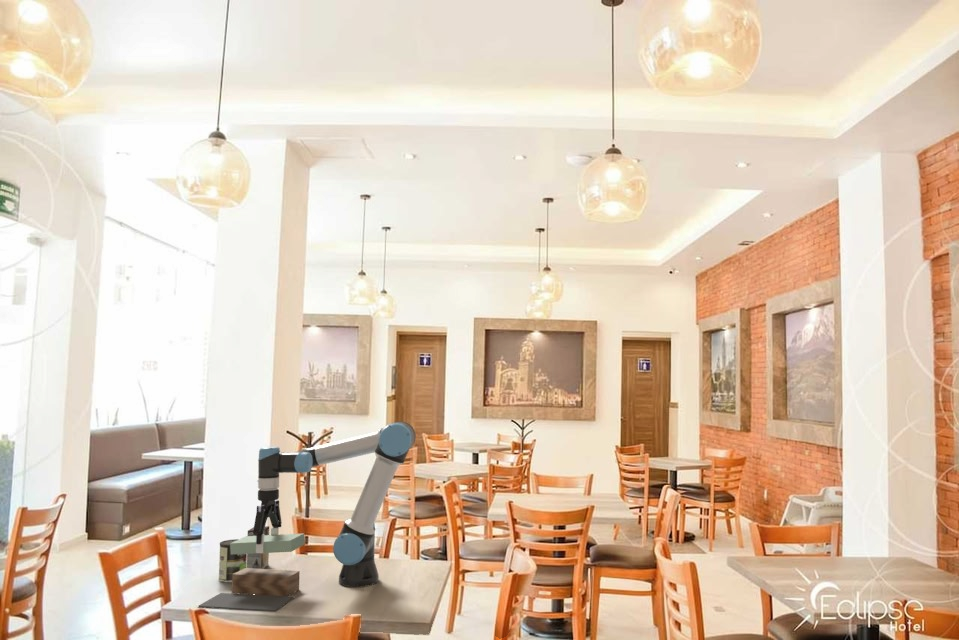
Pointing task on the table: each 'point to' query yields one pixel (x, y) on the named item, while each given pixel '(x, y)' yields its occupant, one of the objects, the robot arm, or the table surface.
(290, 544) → the lid
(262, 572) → the box
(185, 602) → the table surface
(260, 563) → the coffee box
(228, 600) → the mat
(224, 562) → the coffee can
